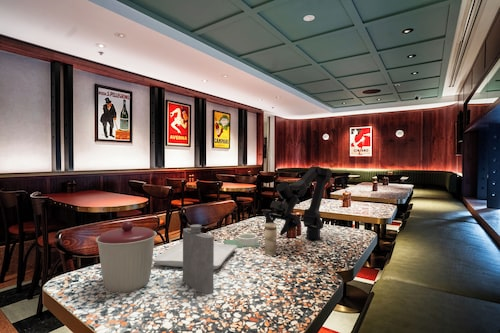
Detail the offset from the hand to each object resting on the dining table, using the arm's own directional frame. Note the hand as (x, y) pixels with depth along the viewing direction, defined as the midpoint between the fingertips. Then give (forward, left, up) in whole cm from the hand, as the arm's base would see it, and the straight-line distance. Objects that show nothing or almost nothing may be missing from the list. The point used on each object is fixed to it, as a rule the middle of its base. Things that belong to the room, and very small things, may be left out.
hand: (272, 232), depth 124 cm
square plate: (+32, -6, -9) cm, 34 cm away
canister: (+59, +9, -9) cm, 61 cm away
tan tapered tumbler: (+1, 0, -9) cm, 9 cm away
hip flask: (+39, +19, -9) cm, 45 cm away
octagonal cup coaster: (+7, -18, -9) cm, 21 cm away
